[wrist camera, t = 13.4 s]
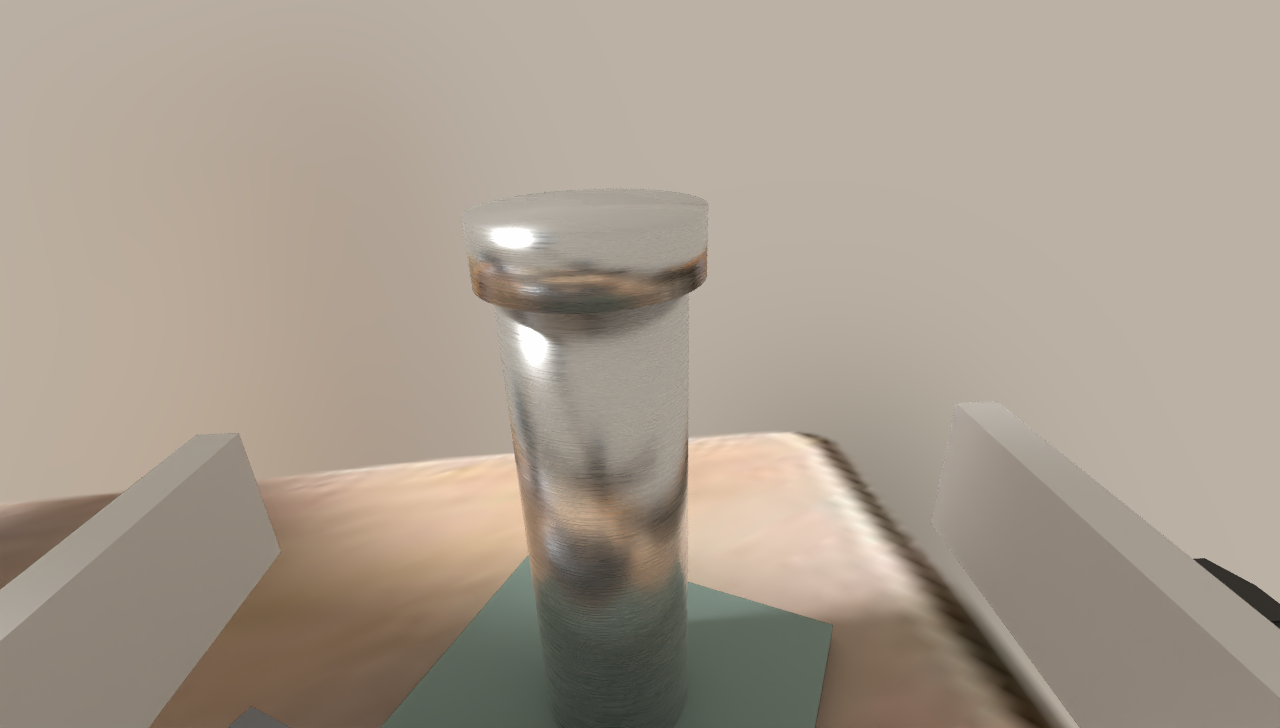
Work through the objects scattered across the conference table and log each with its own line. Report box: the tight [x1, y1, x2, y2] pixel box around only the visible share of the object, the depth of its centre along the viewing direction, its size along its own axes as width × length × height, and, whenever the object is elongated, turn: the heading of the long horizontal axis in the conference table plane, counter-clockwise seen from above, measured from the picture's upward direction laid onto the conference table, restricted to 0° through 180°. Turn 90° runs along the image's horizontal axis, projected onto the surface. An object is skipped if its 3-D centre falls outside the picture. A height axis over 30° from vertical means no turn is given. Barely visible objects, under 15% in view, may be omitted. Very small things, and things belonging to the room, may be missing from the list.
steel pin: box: [461, 189, 708, 728], centre depth 16 cm, size 5×5×15 cm
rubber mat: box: [380, 555, 833, 728], centre depth 19 cm, size 12×10×1 cm
